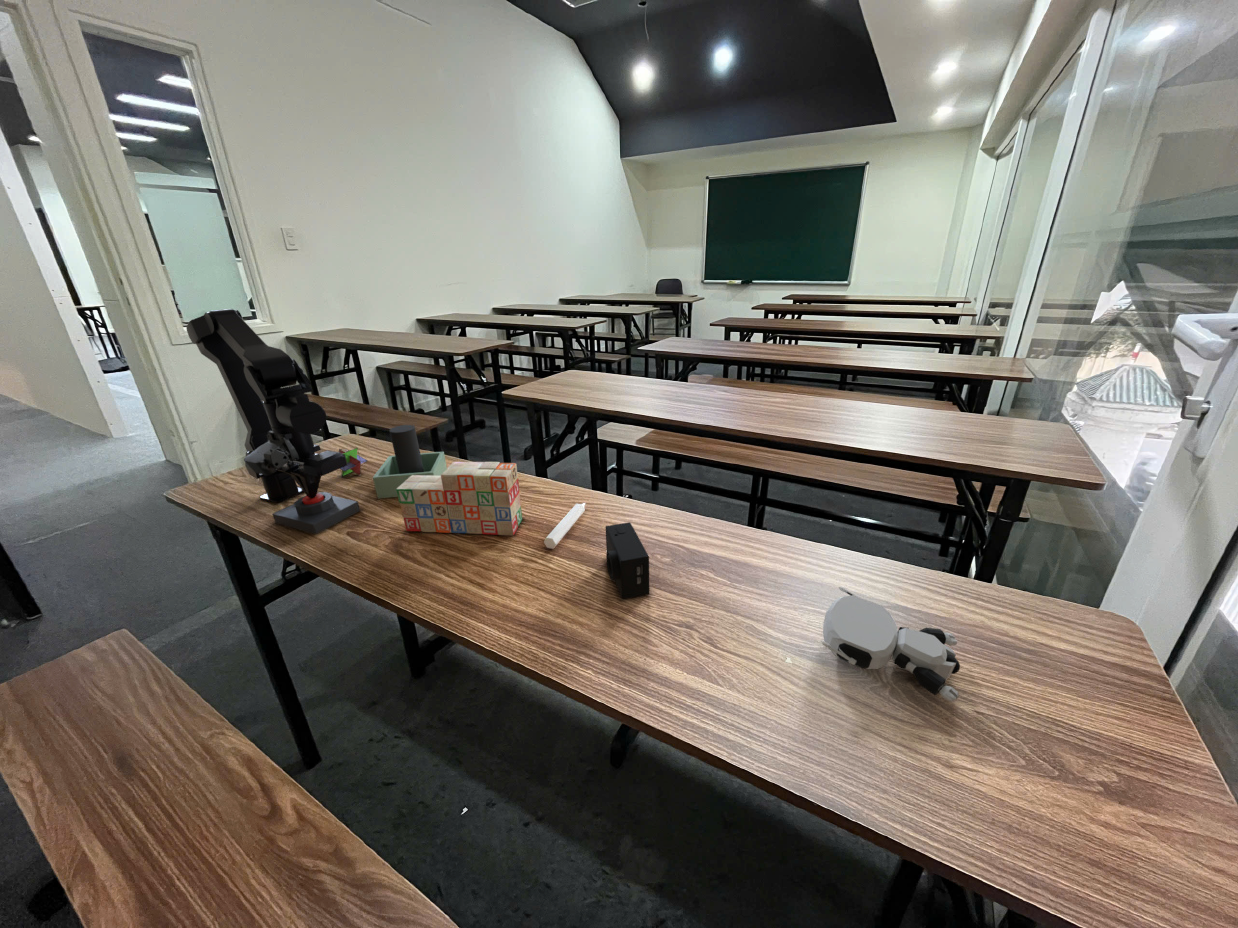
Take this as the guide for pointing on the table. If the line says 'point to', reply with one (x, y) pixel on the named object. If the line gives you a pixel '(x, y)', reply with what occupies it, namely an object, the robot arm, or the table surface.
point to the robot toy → (889, 643)
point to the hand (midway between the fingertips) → (312, 497)
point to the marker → (564, 526)
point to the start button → (313, 499)
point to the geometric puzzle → (352, 461)
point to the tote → (391, 479)
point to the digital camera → (627, 560)
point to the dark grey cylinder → (406, 449)
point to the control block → (316, 513)
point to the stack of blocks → (463, 499)
